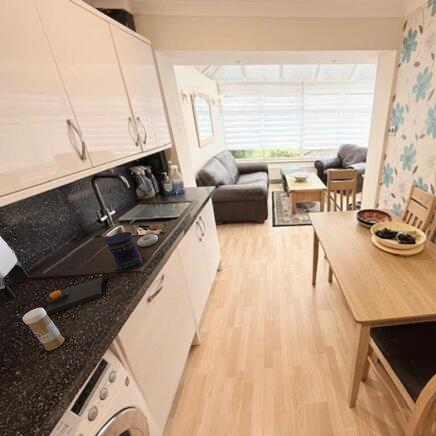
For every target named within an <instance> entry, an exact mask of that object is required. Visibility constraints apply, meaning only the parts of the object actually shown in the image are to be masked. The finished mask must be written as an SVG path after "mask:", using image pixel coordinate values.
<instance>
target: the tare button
mask: <svg viewBox="0 0 436 436" xmlns="http://www.w3.org/2000/svg"><path fill="white" fill-rule="evenodd" d="M60 290H61V289H60ZM60 290H59V289H57V290H54V291H52V292H51V293H49V295H50V297H51V298H52V299H54V298H57V297H59V296H61V295H62V293H61V291H60Z"/></svg>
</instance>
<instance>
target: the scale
mask: <svg viewBox="0 0 436 436" xmlns="http://www.w3.org/2000/svg"><path fill="white" fill-rule="evenodd" d="M104 284H105V278H104V276H100V277H97V278H94V279H91V280H87V281H85V282H82V283H79V284H76V285H72V286H69V287H67V288H63V289H60V291H61V293H62V295H61V296H59V297H57V298H54V299H52V298H51V297H50V294H49V295H48V296H47V297H46V299H45V302H46V303H47V304H48V305H47V307H46V309H45V311H46V314H47V316H51V315H53V314H56V313H59V312H61V311H65V310H68V309H70V308H73V307H76V306H78V305H82V304H84V303H87V302H90V301H93V300H96V299H98V298H101V297H102V294H103V288H104Z"/></svg>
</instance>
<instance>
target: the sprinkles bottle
mask: <svg viewBox="0 0 436 436" xmlns="http://www.w3.org/2000/svg"><path fill="white" fill-rule="evenodd" d="M21 319H22V321H23V322H24V324H26V325H27V326H28V327H29V328H30V330H31V331H32V332H33V334H34V335H35V336H36V338H37V339H38V341H39V342H40V343H41V344H42V346H44V349H45V350H46V351H53V350H56V349H57V348H59V347H60V346H62V345H63V344H64V342H65V340H66V339H65V337H63V335H62V334H61V333H60V330H59V329H58V328H57V326H56V325H55V324H54V322H53V321H52V320H51V318H50V317H49V315H47V313H46V309H44V308H43V307H37V308H34V309H31V310H30V311H28V312H26V313H25V314H24V315H23V316H22V318H21Z"/></svg>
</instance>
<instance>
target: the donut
mask: <svg viewBox="0 0 436 436" xmlns="http://www.w3.org/2000/svg"><path fill="white" fill-rule="evenodd" d="M158 241H159V237H158V235H156V234H152V233H151V234H146V235H143V236H141V237H140V238H138V240H137V241H136V245H137V246H139V247H141V248H144V247H145V248H146V247H150V246H153V245H155V244H157V242H158Z"/></svg>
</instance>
